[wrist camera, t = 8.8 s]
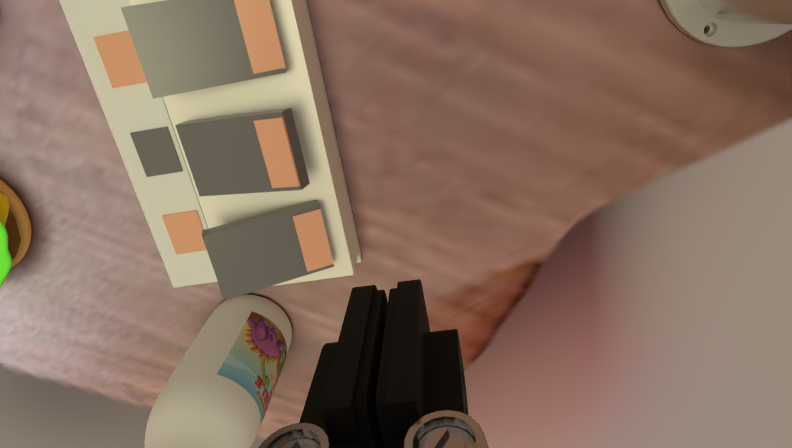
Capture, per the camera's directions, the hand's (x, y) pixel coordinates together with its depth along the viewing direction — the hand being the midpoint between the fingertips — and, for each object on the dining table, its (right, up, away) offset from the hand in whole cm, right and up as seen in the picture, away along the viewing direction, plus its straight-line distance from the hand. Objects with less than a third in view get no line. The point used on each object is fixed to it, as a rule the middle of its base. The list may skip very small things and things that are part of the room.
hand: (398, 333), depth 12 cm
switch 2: (-9, +1, +22) cm, 24 cm away
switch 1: (-11, +14, +17) cm, 24 cm away
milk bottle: (-13, -7, +34) cm, 37 cm away
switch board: (-13, +10, +26) cm, 31 cm away
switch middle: (-10, +7, +20) cm, 23 cm away
